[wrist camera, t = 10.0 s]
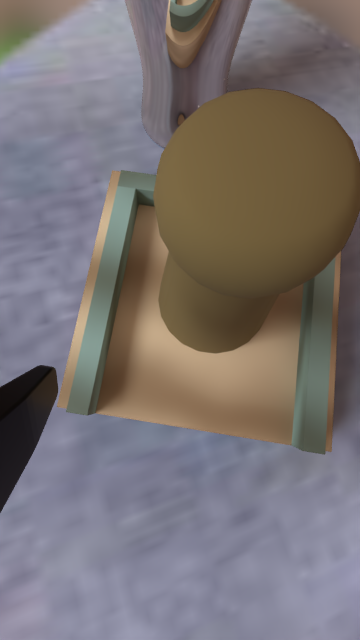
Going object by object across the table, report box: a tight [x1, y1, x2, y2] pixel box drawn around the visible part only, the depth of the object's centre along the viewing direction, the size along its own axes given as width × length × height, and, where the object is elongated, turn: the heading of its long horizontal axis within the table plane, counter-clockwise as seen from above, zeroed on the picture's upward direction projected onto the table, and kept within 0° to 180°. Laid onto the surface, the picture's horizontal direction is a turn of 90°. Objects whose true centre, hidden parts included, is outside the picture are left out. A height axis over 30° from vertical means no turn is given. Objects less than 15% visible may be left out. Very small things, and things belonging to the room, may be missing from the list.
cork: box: [153, 88, 360, 354], centre depth 12 cm, size 6×6×11 cm
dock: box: [57, 170, 341, 454], centre depth 18 cm, size 14×14×4 cm
